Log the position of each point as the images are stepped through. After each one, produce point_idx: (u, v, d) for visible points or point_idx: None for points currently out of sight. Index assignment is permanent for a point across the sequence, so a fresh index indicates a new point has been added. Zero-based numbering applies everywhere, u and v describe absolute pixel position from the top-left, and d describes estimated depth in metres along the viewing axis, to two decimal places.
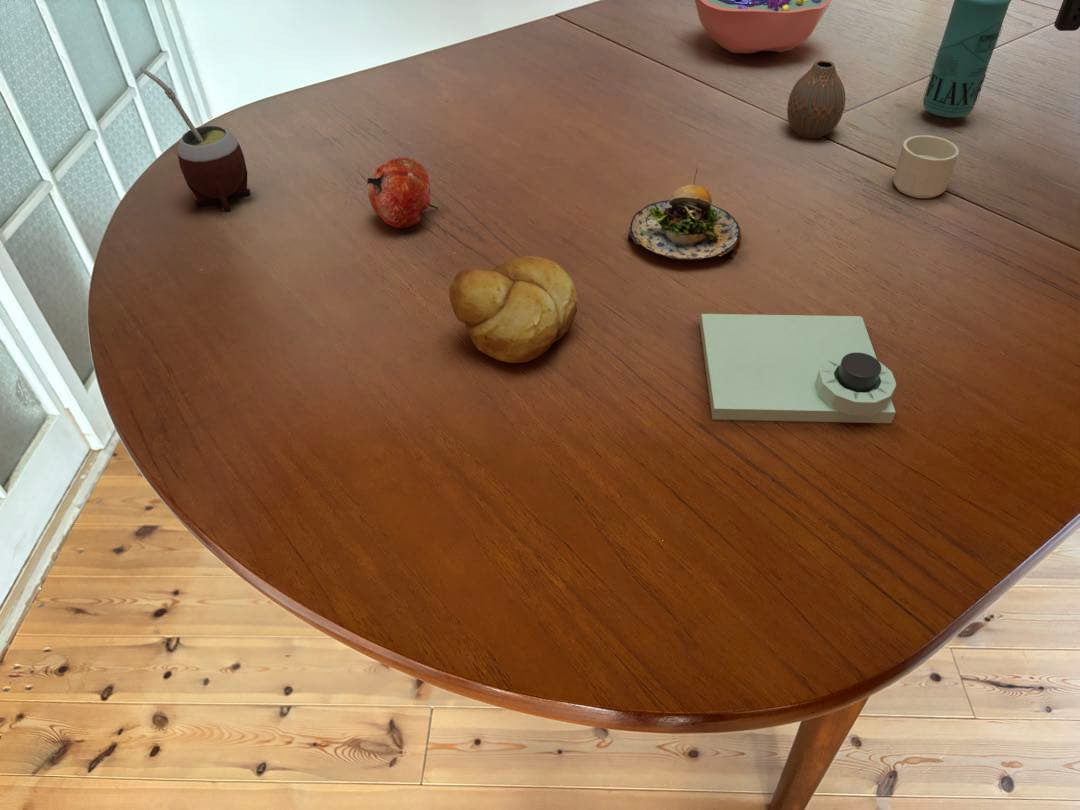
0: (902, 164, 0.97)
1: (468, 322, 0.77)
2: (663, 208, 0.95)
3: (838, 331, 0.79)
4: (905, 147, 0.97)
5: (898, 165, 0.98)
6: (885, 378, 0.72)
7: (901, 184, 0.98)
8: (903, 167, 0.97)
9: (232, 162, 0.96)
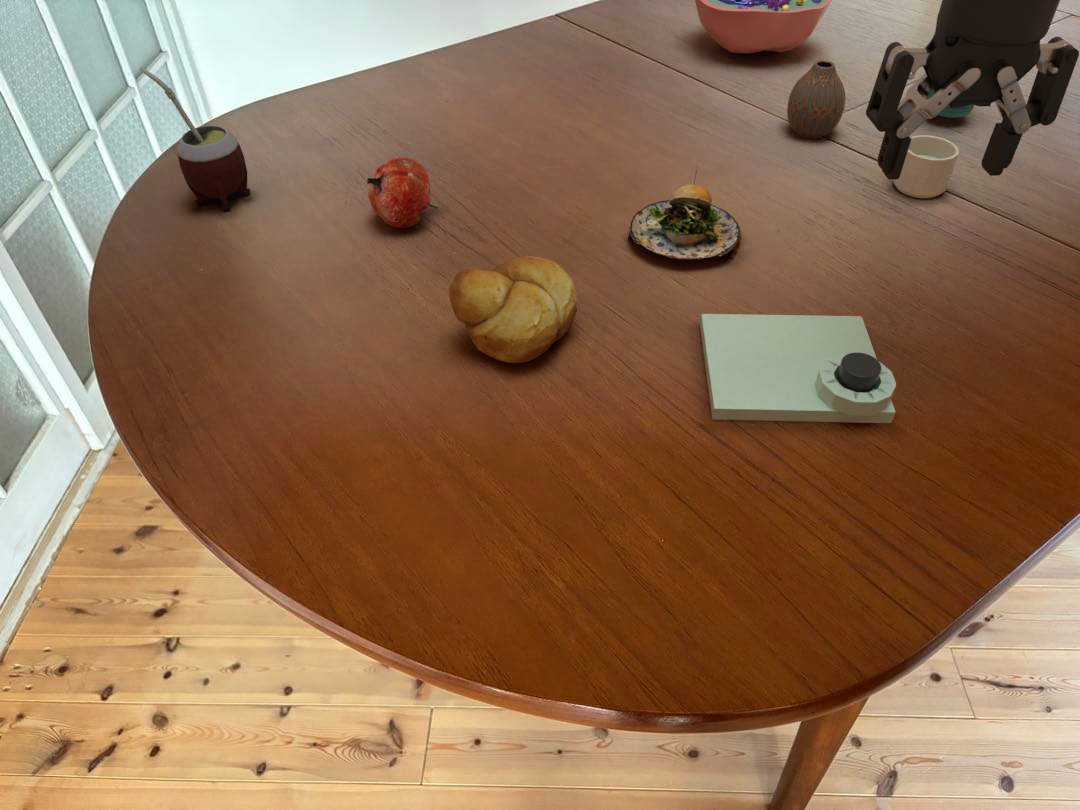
0: None
1: (468, 322, 0.77)
2: (663, 208, 0.95)
3: (838, 331, 0.79)
4: None
5: None
6: (885, 378, 0.72)
7: (901, 184, 0.98)
8: (903, 167, 0.97)
9: (232, 162, 0.96)
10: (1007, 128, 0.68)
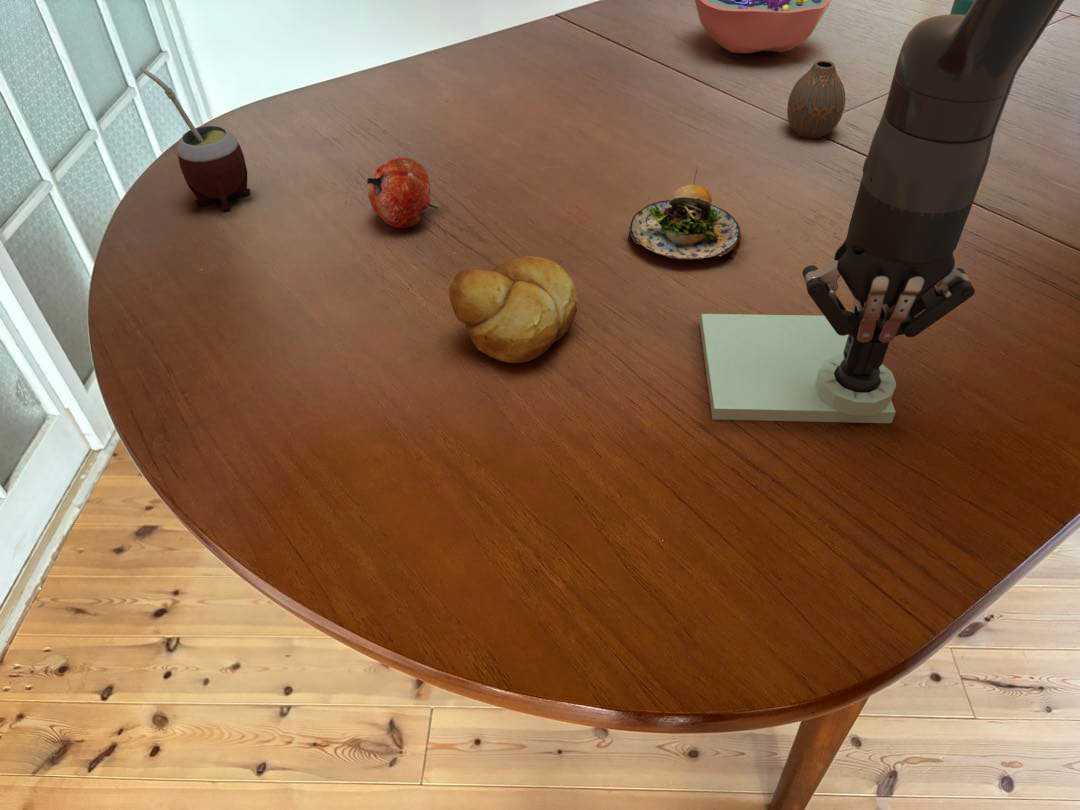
0: None
1: (468, 322, 0.77)
2: (663, 208, 0.95)
3: None
4: None
5: None
6: (885, 378, 0.72)
7: None
8: None
9: (232, 162, 0.96)
10: (874, 334, 0.69)
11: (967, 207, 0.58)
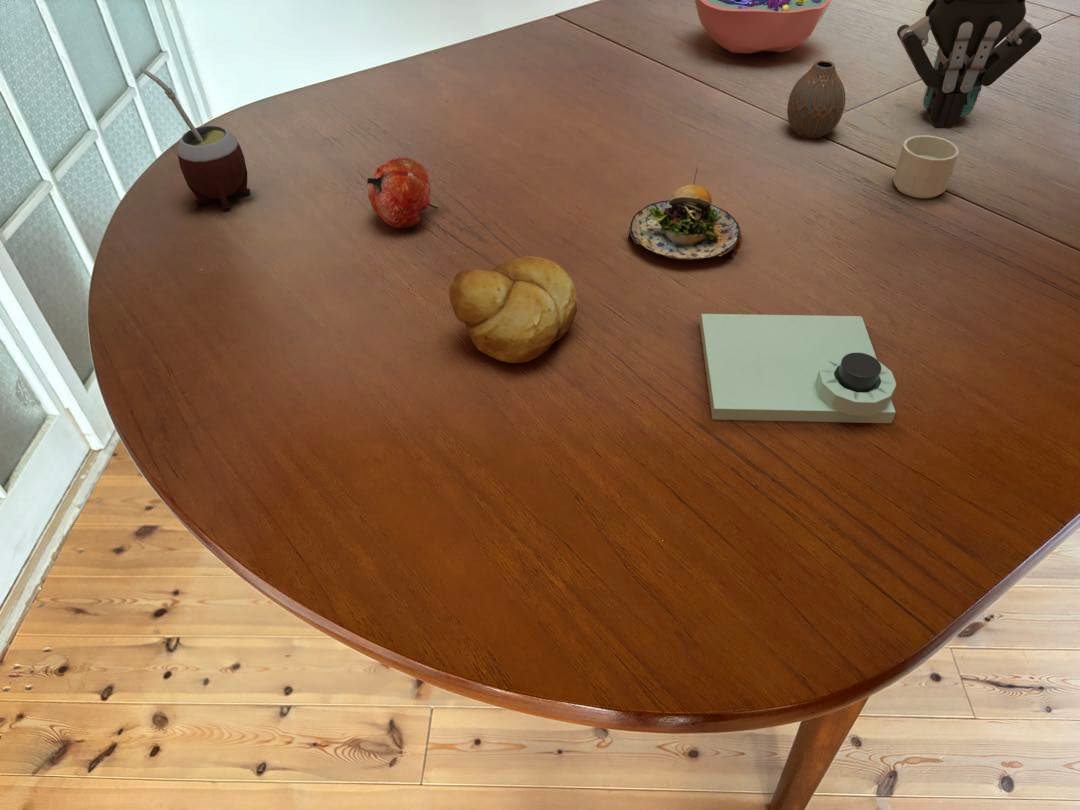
0: (902, 164, 0.97)
1: (468, 322, 0.77)
2: (663, 208, 0.95)
3: (838, 331, 0.79)
4: (905, 147, 0.97)
5: (898, 165, 0.98)
6: (885, 378, 0.72)
7: (901, 184, 0.98)
8: (903, 167, 0.97)
9: (232, 162, 0.96)
10: (955, 88, 0.82)
11: None
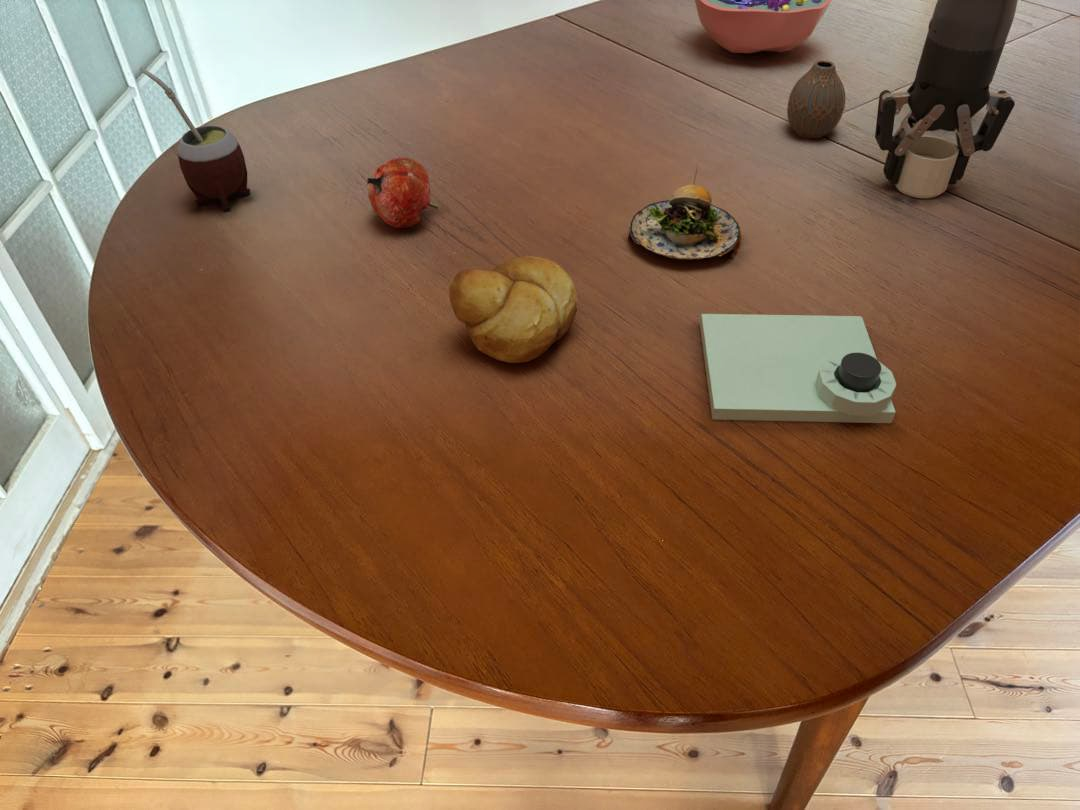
0: None
1: (468, 322, 0.77)
2: (663, 208, 0.95)
3: (838, 331, 0.79)
4: None
5: None
6: (885, 378, 0.72)
7: (901, 184, 0.98)
8: (903, 167, 0.97)
9: (232, 162, 0.96)
10: None
11: (1000, 48, 0.86)
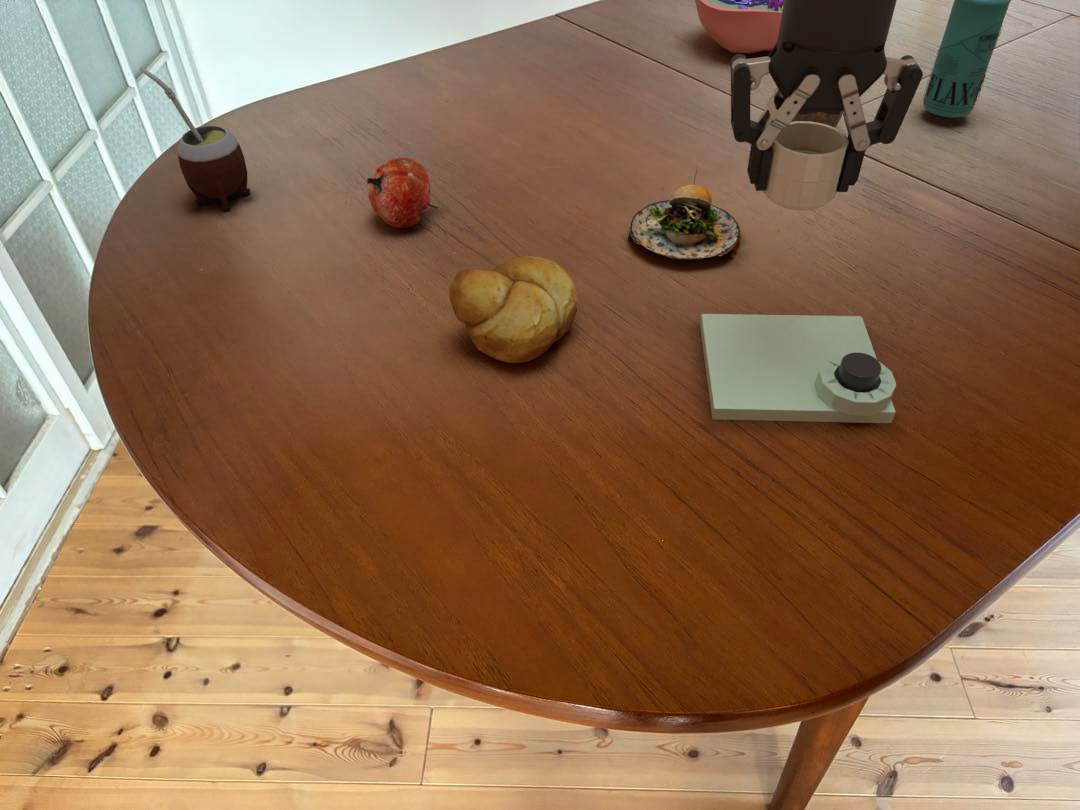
0: None
1: (468, 322, 0.77)
2: (663, 208, 0.95)
3: (838, 331, 0.79)
4: None
5: None
6: (885, 378, 0.72)
7: (770, 190, 0.69)
8: (771, 166, 0.68)
9: (232, 162, 0.96)
10: (849, 144, 0.67)
11: None
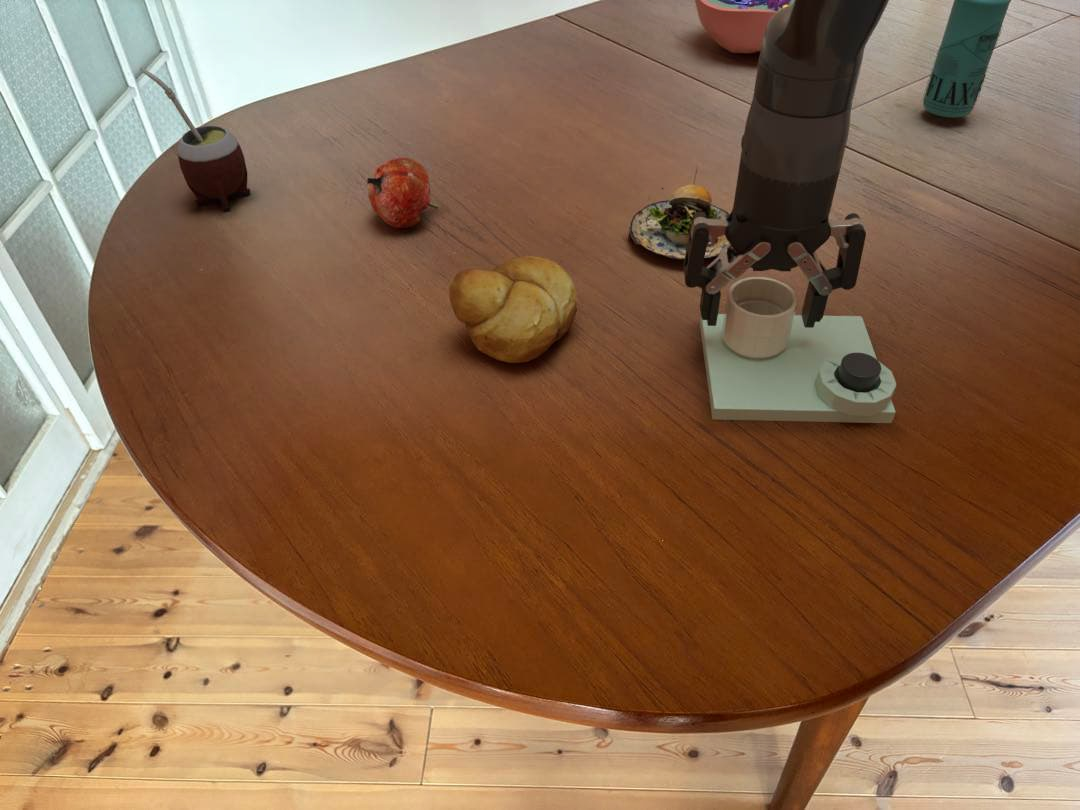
0: (727, 316, 0.76)
1: (468, 322, 0.77)
2: (663, 208, 0.95)
3: (838, 331, 0.79)
4: (730, 296, 0.75)
5: (725, 316, 0.77)
6: (885, 378, 0.72)
7: (728, 340, 0.77)
8: (729, 320, 0.76)
9: (232, 162, 0.96)
10: (814, 288, 0.74)
11: (831, 177, 0.64)
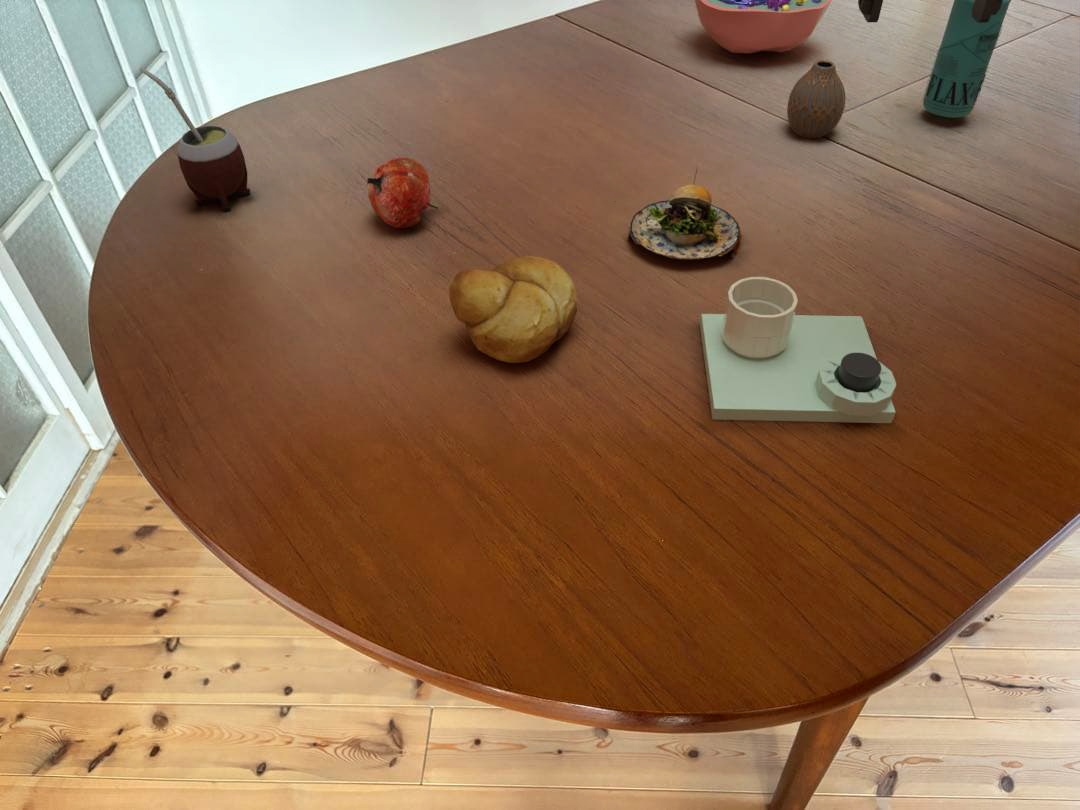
0: (727, 316, 0.76)
1: (468, 322, 0.77)
2: (663, 208, 0.95)
3: (838, 331, 0.79)
4: (730, 296, 0.75)
5: (725, 316, 0.77)
6: (885, 378, 0.72)
7: (728, 340, 0.77)
8: (729, 320, 0.76)
9: (232, 162, 0.96)
10: None
11: None
